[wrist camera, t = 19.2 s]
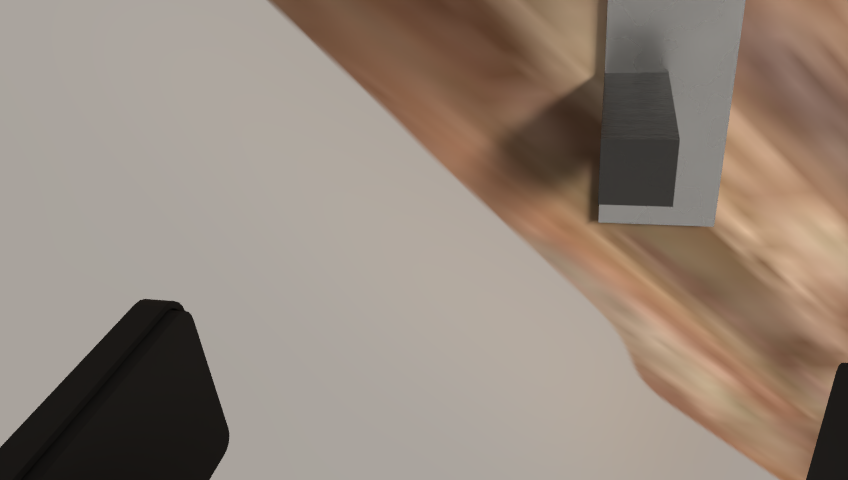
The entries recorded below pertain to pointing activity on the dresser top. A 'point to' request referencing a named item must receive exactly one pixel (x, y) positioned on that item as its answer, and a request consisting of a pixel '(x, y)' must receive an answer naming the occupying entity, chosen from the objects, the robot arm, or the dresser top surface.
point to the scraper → (666, 109)
